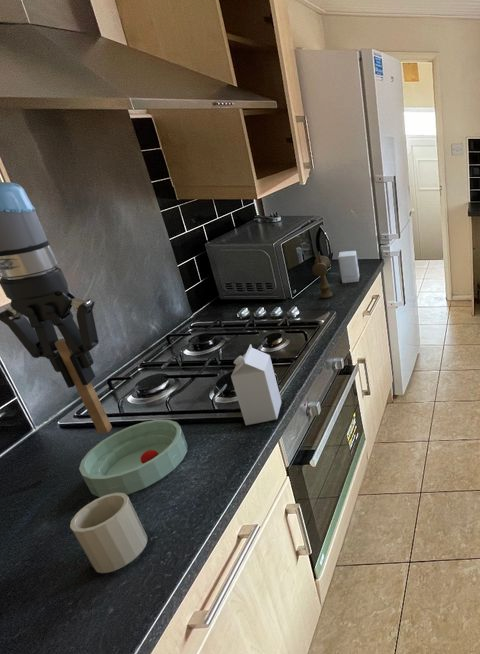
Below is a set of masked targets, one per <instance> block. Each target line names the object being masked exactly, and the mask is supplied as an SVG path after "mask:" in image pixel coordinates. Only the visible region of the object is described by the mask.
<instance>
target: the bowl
mask: <svg viewBox="0 0 480 654" xmlns="http://www.w3.org/2000/svg"><path fill="white" fill-rule="evenodd" d="M149 450H155V451H157V452H158V455H157V456H156V457H154V458H153V459H152V460H150V461H148V462H146V463H144V464H143V463H142V462H141V456H142V455H143V453H145V452H146V451H149ZM187 453H188V443H187V439H186V437H185V435H184V432H183V430H182V426H181V425H180V424H179V423H178V422H177V421H174V420H171V419H153V420H148V421H142V422H140V423H136V424H133V425H130V426H128V427H125V428H123V429H121V430H119V431H116V432H115V433H113V434H110V435H109V436H107V437H106V438H104V439H103V440H101V441H100V442H99V443H97V444H96V445H95V446H93V447H92V448H91V449H90V450H89V451H88V452H87V453H86V454H85V456H84V457H83V458H82V459H81V461H80V464H79V467H78V470H79V472H80V474H81V477H82V478H83V480H84V482H85V484H86V486H87V488H88V490H89V491H90V494H91V495H93V496H95V497H98V498H100V497H103V496H105V495H108V494H113V493H125V494H126V495H127V496H128V495H131V494H133V493H135V492H139V491H142V490H144V489H146V488H148V487H150V486H151V485H153V484H156V483H157V482H159V481H161V480H162V479H164V478H165V477H166V476H168V475H169V474H170V473H171V472H173V471H174V470H176V468H177V467H178V466H179V465H180V464H181V462H183V461H184V459H185V457H186V456H187V455H186V454H187Z"/></svg>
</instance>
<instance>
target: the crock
mask: <svg viewBox="0 0 480 654" xmlns="http://www.w3.org/2000/svg"><path fill="white" fill-rule="evenodd" d="M69 528H70V530H71V532H72V535H74V538H75V539H76V541H77V543H78V544H79V546H80V548H81V549H82V551H83V554H84V555H85V556H86V558H87V559H88V561H89V563H90V565H91V567H92V568H93V570H94V571H95V572H96V573H98V574H99V573H100V574H107V573H112V572H115V571H117V570H119V569H122V568H124V567H125V566H127V565H128V564H130V563H131V562H133V561H134V560H135V559H137V557H138V556H139V555H140V554H142V552H143V551H144V549H145V548H146V546H147V543H148V535H147V533H146V531H145V529H144V526H143V525H142V523H141V520H140V518H139V516H138V514H137V512H136V510H135V508H134V506H133V503H132V502H131V499H130V498H129V496H128V495H126V494H125V493H113V494H108V495H105V496H103V497H98V498H96V499H94V500H92V501H91V502H89V503H88V504H86V505H84V506H83V507H82V508H80V509H79V510H78V512H76V514H75V515H74V516H73V517H72V519H71V520H70V525H69Z"/></svg>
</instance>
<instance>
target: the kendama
mask: <svg viewBox="0 0 480 654" xmlns="http://www.w3.org/2000/svg"><path fill="white" fill-rule="evenodd" d="M330 266H331V260H330V257H328V256H326V255H321V252H320V251H317V257H315V259H314V265H312V269H311V271H312V273H313V275H314V276H316V277H320V285H319V286H318V288H319V289H320V291H321V292H320V294H319V297H320V298H321V299H328V298H332V297H333V295H334V292H332V291H331V283H329V281H328V279H327V277H326V274H328V268H330Z"/></svg>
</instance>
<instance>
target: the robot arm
mask: <svg viewBox="0 0 480 654" xmlns="http://www.w3.org/2000/svg"><path fill="white" fill-rule="evenodd" d="M58 265H59V261H58V259H57V257H56V255H55V252H54V250H53V248H52V246H51V244H50V243H49V240H48V238H47V235H46V233H45V231H44V228H43V226H42V224H41V222H40V219H39V216H38V214H37V212H36V207H35V206H34V205H33V203H32V202H31V200H30V198H29V196H28V194H27V193H26V191H25V189H24V188H23V187H22V186H21V185H20V184H19V183H16V182H8V181H0V287H1V289H2V291H3V293H4V294H5V297H6V298H7V299H9V300H10V307H7V308H6V309H4V310H2V311H1V312H0V321H1V322H2V323H4V324H5V325H6V326H7V327H8V328H9V329H10V331H11V332H12V333H13V334H14V335H15V337H16V338H17V339H18V341H19V342H20V343H21V344H22V346H23V347H24V348H25V349H26V351H27V352H28V353H29V355H30V356H31V358H34V359H39V358H45V359H47V360H49V362H50V364H51V366H52V368H53V370H54V372H56V373H60V374H61V376H62V378H63V380H64V382H65V384H66V386H67V388H70V389H71V388H74V387H76V386H75V384H74V382H73V380H72V378H71V376H70V374H69V372H68V370H67V368H66V366H65V364H64V362H63V360H62V358H61V356H60V354H59V352H58V350H57V347H56V345H55V342H57V341H58V340H59V337H58V334H57V332H56V328H55V326H56V327H57V329H58V330H59V332H60V334H61V336H62V337H63V339H65V341H66V342H67V344H68V346H69V347H70V349H71V351H72V352H73V354H72V355H71V356H70V357H69V358H70V360H71V362H72V364H73V366H74V368H75V370H76V372H77V374H78V376H79V378H80V380H81V383H82V385H88V384H89V383H90V382H91V383H92V381H93V380H94V379H95V378H96V377H97V376H96V374H95V372H94V370H93V368H92V365H94V359H93V357H92V355H91V353H90V351H92V350H93V349H94V348H95V347H96V346H98V344H99V341H100V340H99V337H98V331H97V327H96V322H95V316H94V312H93V309H94V306H95V304H96V303H95V302H96V301H95V300H94V299H92V298H88V299H86V300H85V299H80V298H76V295H74V294H73V293H72V292H71V291H70V290H69V286H68V282H67V280H66V277H65V275H64V272H63V270H62V269H61V268H60V267H58ZM72 307H73V312H75V313H76V321H77V323H76V322H75V319H74V314H73V312H72V310H71V309H72Z"/></svg>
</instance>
